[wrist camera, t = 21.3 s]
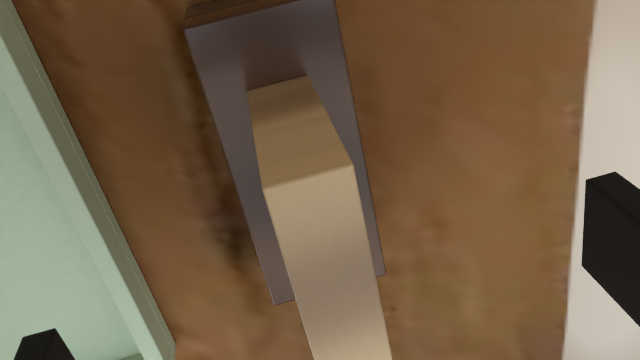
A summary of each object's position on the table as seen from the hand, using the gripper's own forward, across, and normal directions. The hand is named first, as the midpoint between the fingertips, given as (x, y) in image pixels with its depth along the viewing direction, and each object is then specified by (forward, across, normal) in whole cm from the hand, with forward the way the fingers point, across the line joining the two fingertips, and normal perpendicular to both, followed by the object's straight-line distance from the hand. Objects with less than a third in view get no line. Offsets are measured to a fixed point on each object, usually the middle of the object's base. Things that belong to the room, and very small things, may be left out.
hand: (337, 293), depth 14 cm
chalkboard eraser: (+11, 0, -1) cm, 11 cm away
